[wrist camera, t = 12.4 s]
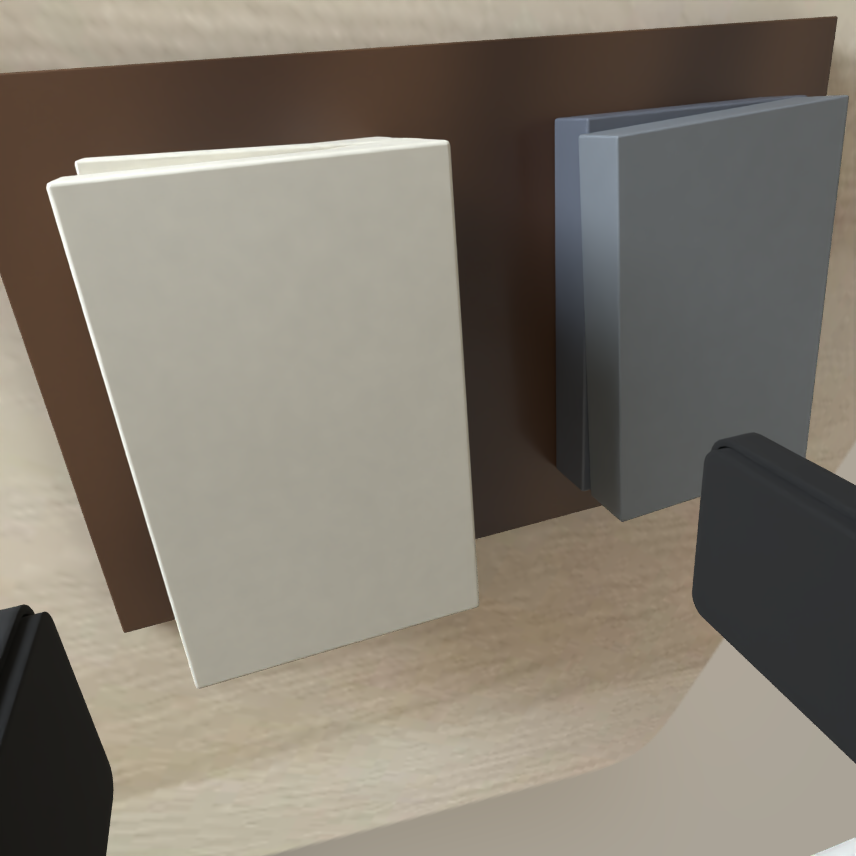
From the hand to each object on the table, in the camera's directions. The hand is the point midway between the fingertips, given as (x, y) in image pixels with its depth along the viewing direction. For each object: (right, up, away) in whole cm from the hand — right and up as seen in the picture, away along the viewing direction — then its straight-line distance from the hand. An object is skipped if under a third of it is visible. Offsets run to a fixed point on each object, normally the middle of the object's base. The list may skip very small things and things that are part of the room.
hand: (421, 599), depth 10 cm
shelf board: (+1, +6, +12) cm, 13 cm away
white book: (-3, +3, +6) cm, 7 cm away
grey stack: (+7, +7, +13) cm, 16 cm away
